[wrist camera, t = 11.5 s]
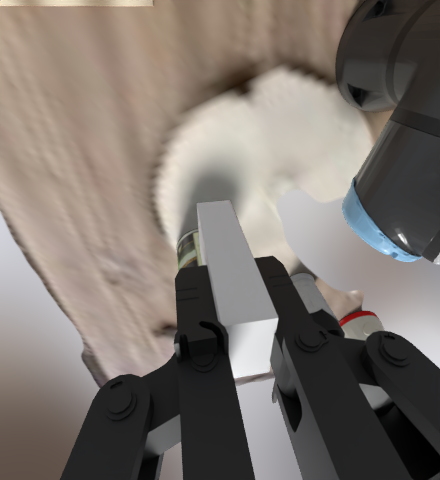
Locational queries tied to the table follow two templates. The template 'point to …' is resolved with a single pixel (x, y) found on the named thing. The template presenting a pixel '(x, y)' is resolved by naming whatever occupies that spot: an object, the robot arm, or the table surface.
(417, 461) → the robot arm
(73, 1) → the pintle board
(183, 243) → the coffee can
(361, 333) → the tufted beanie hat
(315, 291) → the grey and black mug
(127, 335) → the table surface
